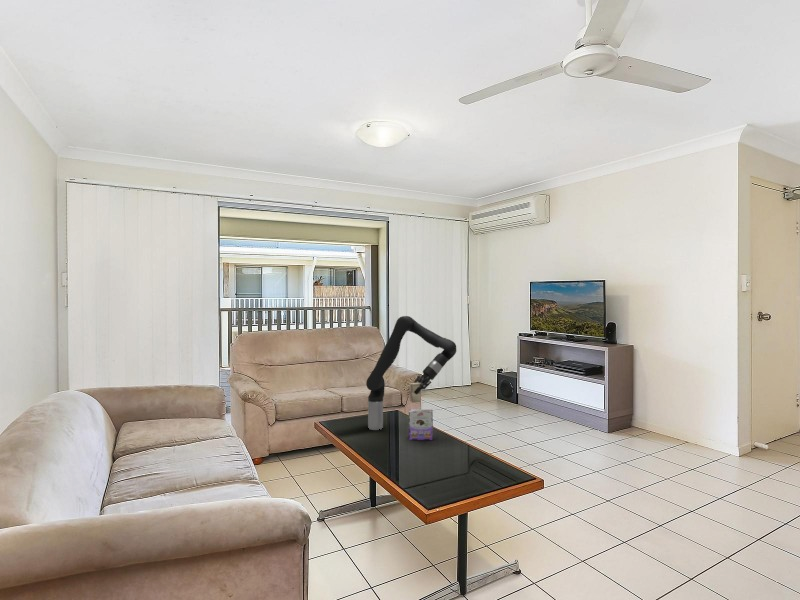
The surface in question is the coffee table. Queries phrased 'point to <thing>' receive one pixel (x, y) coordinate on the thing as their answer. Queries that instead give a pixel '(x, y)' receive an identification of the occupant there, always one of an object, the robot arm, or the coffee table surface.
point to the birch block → (414, 396)
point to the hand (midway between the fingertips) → (413, 392)
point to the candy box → (420, 424)
